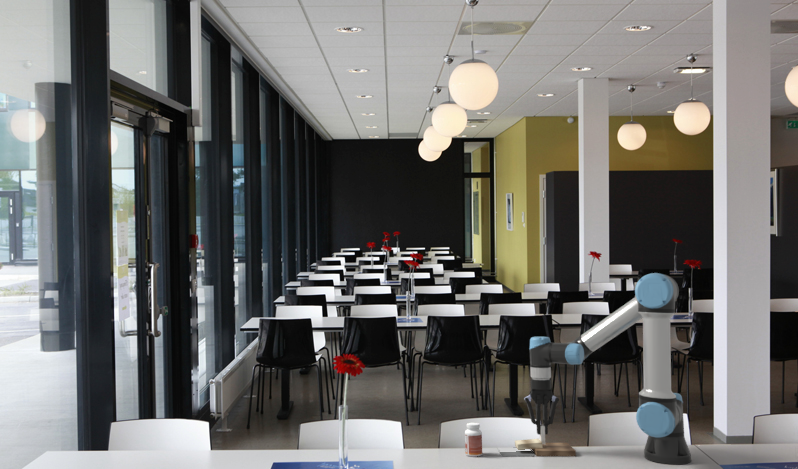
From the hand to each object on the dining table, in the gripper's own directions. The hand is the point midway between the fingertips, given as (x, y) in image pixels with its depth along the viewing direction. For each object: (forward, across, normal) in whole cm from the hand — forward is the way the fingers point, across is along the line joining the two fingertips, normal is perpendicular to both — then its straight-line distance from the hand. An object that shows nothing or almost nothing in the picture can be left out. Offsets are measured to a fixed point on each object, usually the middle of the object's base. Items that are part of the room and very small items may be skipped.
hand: (542, 443), depth 225 cm
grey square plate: (+3, +10, 0) cm, 11 cm away
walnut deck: (+3, -4, 0) cm, 5 cm away
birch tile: (+1, +5, 0) cm, 5 cm away
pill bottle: (+3, +26, +4) cm, 26 cm away
